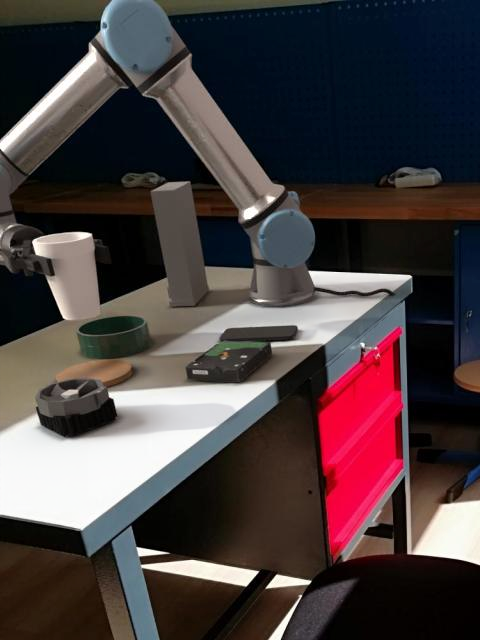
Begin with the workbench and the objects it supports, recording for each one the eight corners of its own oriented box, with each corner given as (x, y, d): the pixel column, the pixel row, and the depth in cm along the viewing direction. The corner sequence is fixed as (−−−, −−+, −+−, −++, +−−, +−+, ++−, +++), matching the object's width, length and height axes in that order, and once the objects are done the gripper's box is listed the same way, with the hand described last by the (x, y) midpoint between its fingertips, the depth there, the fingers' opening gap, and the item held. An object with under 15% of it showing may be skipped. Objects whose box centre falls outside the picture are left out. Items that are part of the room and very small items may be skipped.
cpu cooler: (23, 391, 116) (83, 371, 123) (33, 425, 119) (92, 404, 126) (55, 406, 110) (117, 385, 117) (66, 441, 113) (125, 419, 120)
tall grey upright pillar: (184, 292, 187) (164, 182, 174) (209, 291, 187) (190, 181, 174) (169, 307, 175) (146, 191, 162) (195, 306, 175) (174, 190, 162)
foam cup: (91, 323, 128) (71, 243, 122) (42, 322, 130) (20, 243, 124) (119, 307, 136) (102, 231, 130) (73, 306, 138) (53, 232, 132)
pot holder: (145, 365, 141) (144, 360, 141) (108, 391, 130) (106, 386, 130) (83, 363, 144) (82, 358, 144) (42, 388, 133) (40, 383, 133)
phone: (226, 327, 156) (298, 324, 155) (227, 331, 157) (298, 328, 156) (218, 339, 150) (292, 336, 149) (218, 343, 150) (293, 340, 149)
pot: (163, 337, 156) (158, 315, 153) (129, 359, 145) (124, 336, 142) (105, 335, 159) (99, 314, 156) (68, 357, 148) (62, 334, 145)
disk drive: (241, 385, 131) (273, 355, 143) (238, 369, 129) (271, 340, 141) (186, 382, 133) (222, 352, 145) (183, 366, 132) (220, 338, 144)
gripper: (82, 255, 148) (143, 270, 134) (-34, 280, 134) (21, 299, 121) (73, 215, 144) (134, 226, 130) (-48, 235, 131) (7, 250, 117)
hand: (80, 261), depth 126 cm, fingers closed on foam cup, 9 cm apart
